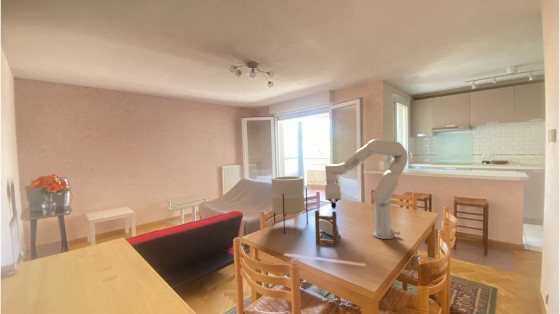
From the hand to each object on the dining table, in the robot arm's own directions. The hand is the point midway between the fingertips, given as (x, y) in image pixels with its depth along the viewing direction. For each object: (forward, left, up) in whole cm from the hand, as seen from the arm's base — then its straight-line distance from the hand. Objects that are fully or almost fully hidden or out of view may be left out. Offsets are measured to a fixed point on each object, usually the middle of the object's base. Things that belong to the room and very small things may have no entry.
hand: (333, 208), depth 160 cm
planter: (+35, +3, -15) cm, 38 cm away
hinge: (+2, +10, -15) cm, 18 cm away
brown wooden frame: (+1, +24, -15) cm, 28 cm away
